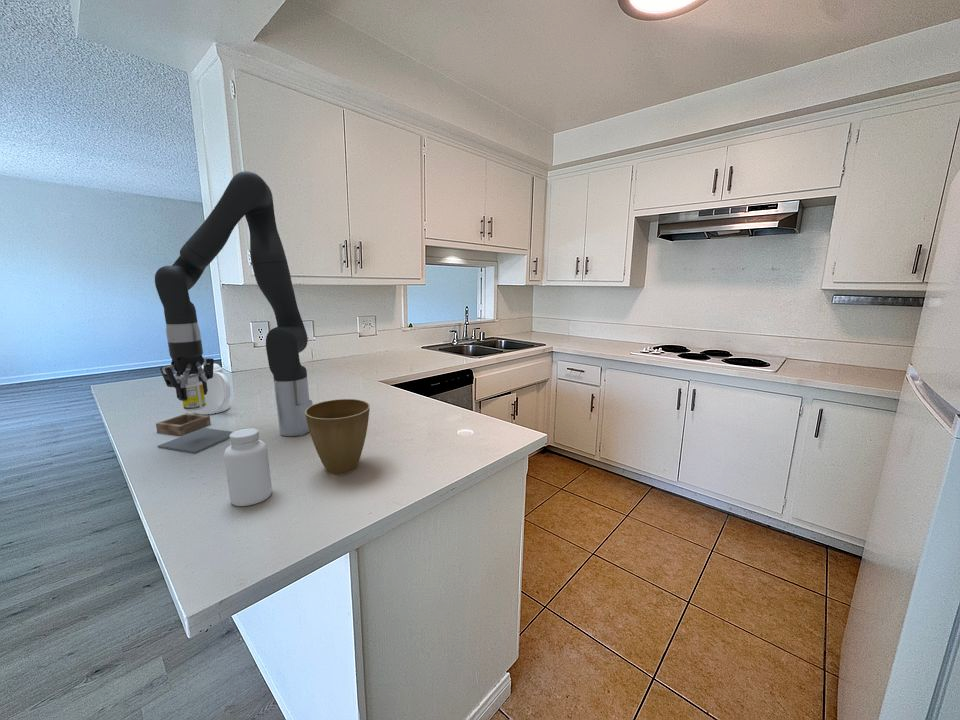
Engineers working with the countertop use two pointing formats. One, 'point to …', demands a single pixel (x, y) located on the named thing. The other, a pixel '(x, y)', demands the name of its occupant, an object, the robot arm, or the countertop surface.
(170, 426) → the collar holder
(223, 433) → the rubber mat
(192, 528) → the countertop surface
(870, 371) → the countertop surface
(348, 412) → the plant pot
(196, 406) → the supplement bottle
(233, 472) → the pill bottle
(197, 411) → the coffeepot
